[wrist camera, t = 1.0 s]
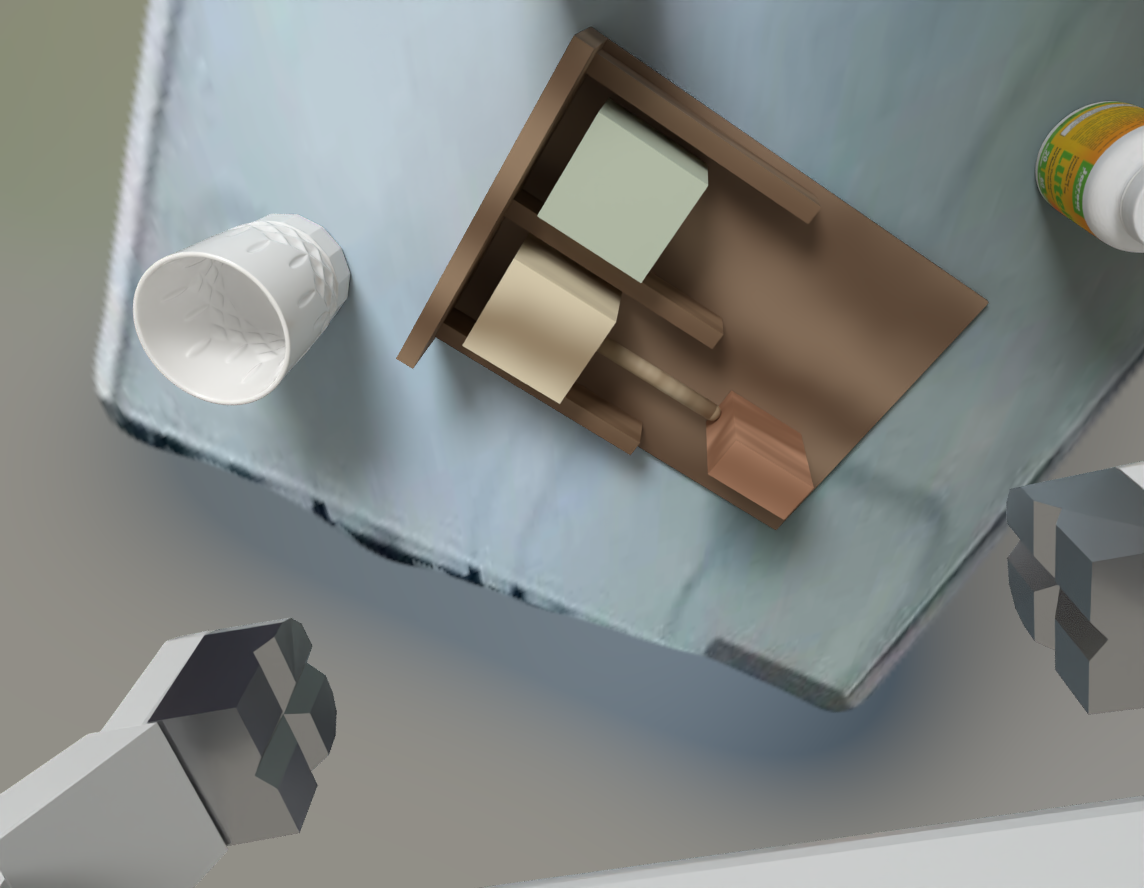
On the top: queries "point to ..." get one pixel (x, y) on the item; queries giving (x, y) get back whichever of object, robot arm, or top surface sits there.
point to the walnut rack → (712, 284)
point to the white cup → (240, 307)
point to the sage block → (625, 191)
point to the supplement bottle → (1098, 172)
